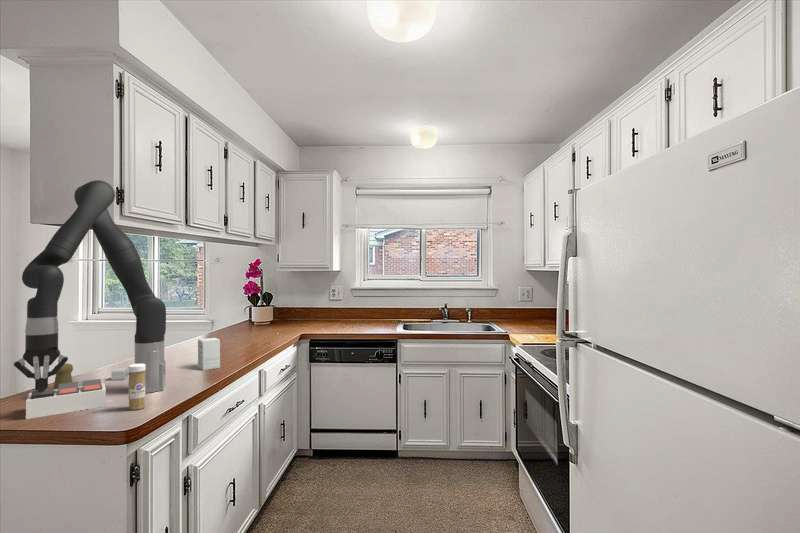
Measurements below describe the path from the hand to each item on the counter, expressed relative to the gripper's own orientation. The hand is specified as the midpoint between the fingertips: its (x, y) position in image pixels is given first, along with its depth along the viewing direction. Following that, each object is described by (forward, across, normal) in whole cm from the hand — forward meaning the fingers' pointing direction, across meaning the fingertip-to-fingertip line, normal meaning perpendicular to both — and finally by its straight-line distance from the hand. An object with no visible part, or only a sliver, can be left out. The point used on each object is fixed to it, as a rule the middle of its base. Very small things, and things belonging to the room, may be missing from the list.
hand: (41, 390), depth 128 cm
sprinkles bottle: (+7, -24, +10) cm, 26 cm away
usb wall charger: (+7, -23, -36) cm, 43 cm away
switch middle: (+2, -6, -3) cm, 7 cm away
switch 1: (+2, 0, -3) cm, 4 cm away
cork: (+7, -4, -20) cm, 22 cm away
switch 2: (+2, -12, -3) cm, 13 cm away
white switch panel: (+7, -6, -3) cm, 10 cm away
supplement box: (+6, -54, -36) cm, 65 cm away
